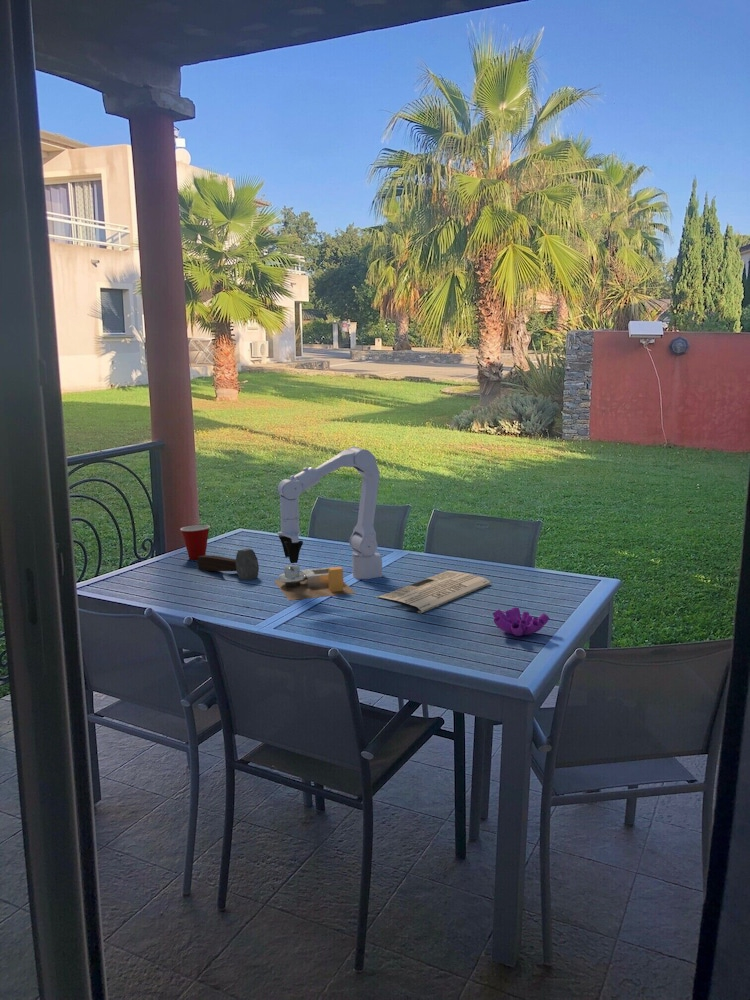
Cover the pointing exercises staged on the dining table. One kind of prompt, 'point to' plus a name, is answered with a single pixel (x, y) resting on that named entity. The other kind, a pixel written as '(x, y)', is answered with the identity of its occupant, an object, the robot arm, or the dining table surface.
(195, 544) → the plastic cup
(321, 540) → the dining table surface
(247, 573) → the hammer
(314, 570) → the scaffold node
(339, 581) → the tan rectangular prism
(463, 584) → the newspaper
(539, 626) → the purple coral
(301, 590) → the board
